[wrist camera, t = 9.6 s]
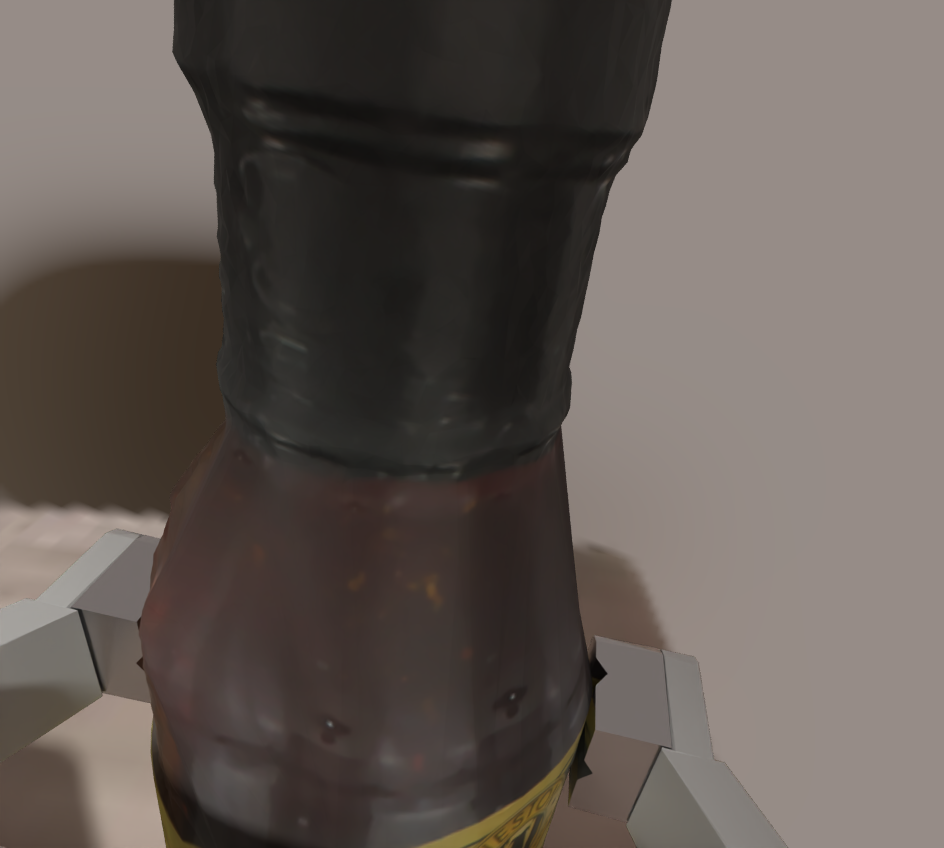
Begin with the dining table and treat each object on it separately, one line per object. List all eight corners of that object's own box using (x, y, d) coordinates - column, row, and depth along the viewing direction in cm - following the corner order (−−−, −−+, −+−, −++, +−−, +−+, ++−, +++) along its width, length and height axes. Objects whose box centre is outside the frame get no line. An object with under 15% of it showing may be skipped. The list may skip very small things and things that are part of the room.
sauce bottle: (285, 1291, 11) (-301, -632, 1) (168, 945, 15) (-190, -163, 5) (548, 1001, 15) (985, -24, 5) (400, 784, 19) (468, -31, 9)
